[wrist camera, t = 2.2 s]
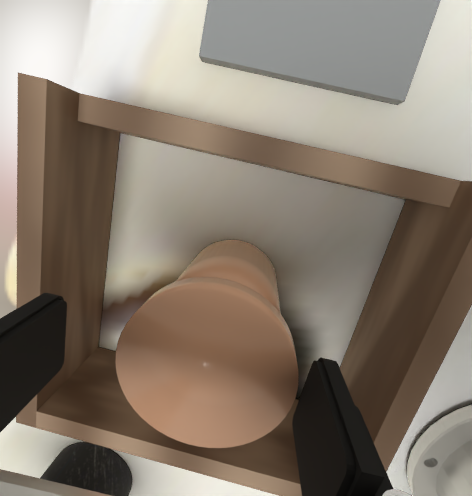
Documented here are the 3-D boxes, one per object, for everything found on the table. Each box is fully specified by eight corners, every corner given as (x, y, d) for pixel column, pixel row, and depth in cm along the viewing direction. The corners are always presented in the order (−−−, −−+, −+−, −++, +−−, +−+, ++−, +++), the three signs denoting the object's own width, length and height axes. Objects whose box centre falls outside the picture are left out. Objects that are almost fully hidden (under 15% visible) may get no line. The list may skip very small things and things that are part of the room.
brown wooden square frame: (434, 183, 16) (530, 190, 10) (335, 423, 21) (362, 518, 15) (102, 107, 17) (17, 72, 11) (82, 356, 22) (16, 422, 16)
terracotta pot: (295, 247, 18) (323, 318, 9) (268, 337, 20) (271, 467, 11) (192, 222, 18) (125, 268, 9) (175, 314, 20) (107, 422, 11)
